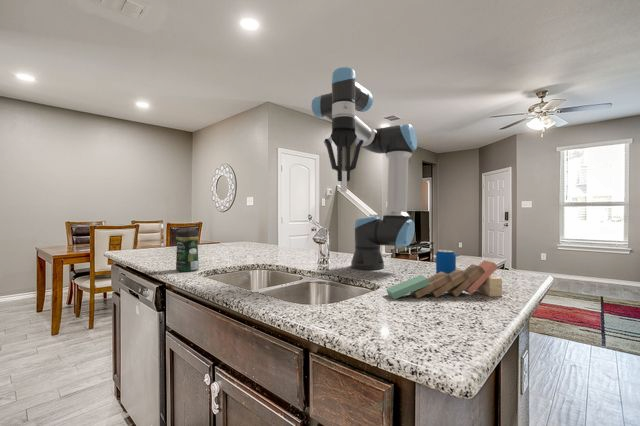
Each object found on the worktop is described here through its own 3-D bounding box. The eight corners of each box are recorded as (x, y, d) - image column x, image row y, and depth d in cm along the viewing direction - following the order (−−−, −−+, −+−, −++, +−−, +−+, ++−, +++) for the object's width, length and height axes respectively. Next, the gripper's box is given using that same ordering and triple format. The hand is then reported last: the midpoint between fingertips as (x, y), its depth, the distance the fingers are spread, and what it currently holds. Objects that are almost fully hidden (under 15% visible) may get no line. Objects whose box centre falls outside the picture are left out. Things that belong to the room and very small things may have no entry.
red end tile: (458, 285, 100) (484, 260, 101) (462, 290, 100) (487, 264, 101) (467, 289, 95) (494, 262, 96) (471, 294, 95) (498, 267, 97)
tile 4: (444, 287, 100) (471, 264, 101) (447, 292, 100) (475, 268, 101) (452, 291, 95) (481, 266, 96) (456, 296, 95) (485, 271, 96)
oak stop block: (475, 290, 102) (475, 274, 102) (486, 290, 103) (486, 273, 103) (489, 296, 95) (489, 278, 95) (501, 296, 96) (501, 278, 96)
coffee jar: (172, 270, 137) (172, 228, 137) (189, 267, 144) (189, 227, 144) (184, 273, 132) (184, 229, 132) (201, 270, 138) (201, 228, 138)
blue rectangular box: (452, 282, 114) (452, 249, 114) (458, 286, 107) (458, 252, 107) (434, 282, 114) (434, 249, 114) (439, 286, 108) (439, 251, 108)
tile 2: (408, 288, 98) (441, 271, 99) (410, 293, 98) (443, 277, 100) (415, 292, 93) (449, 274, 95) (418, 298, 93) (452, 280, 95)
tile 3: (425, 287, 99) (457, 269, 100) (428, 293, 99) (459, 274, 100) (433, 291, 94) (466, 272, 95) (436, 297, 94) (469, 277, 95)
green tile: (386, 288, 97) (420, 275, 99) (388, 294, 97) (422, 280, 99) (392, 293, 92) (428, 278, 94) (394, 299, 92) (430, 284, 94)
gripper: (325, 114, 96) (325, 190, 96) (366, 115, 98) (366, 191, 98) (322, 121, 104) (322, 192, 104) (360, 122, 105) (360, 192, 105)
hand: (343, 191), depth 101 cm, fingers closed
